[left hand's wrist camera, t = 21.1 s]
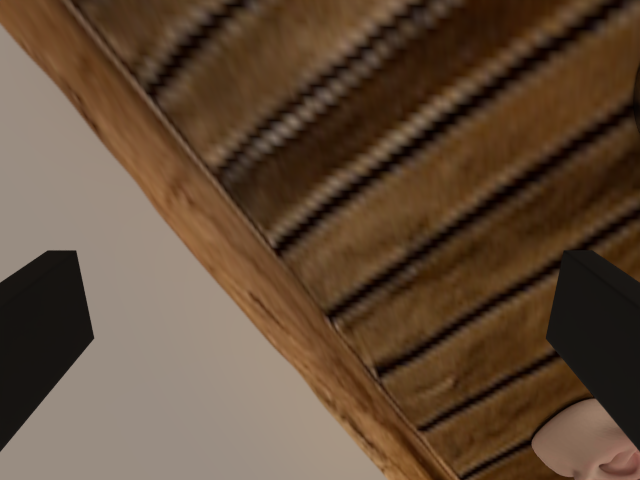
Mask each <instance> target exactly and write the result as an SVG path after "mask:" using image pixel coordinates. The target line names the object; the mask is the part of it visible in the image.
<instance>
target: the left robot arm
mask: <svg viewBox="0 0 640 480" xmlns="http://www.w3.org/2000/svg"><path fill="white" fill-rule="evenodd" d="M634 114H635V120H636V124H637V128H638V131H639V133H640V69H639V72H638V76H637V80H636V85H635V91H634ZM93 339H94V335H93V330H92V325H91V320H90V316H89V311H88V306H87V301H86V296H85V291H84V286H83V281H82V276H81V272H80V267H79V262H78V257H77V252H76V251H46V252H45V253H43V254H42V255H40V256H39V257H37V258H36V259H34V260H33V261H32V262H30V263H29V264H27V265H26V266H24V267H23V268H21V269H20V270H18V271H17V272H15V273H14V274H12V275H11V276H9V277H8V278H6V279H5V280H3V281H2V282H1V283H0V451H1V450H2V449H3V448H4V447H5V445H6V444H7V443H8V442H9V441H10V439H11V438H12V437H13V436H14V435H15V433H16V432H17V431H18V430H19V429H20V427H21V426H22V425H23V424H24V423H25V421H26V420H27V419H28V418H29V416H30V415H31V414H32V413H33V412H34V410H35V409H36V408H37V407H38V406H39V404H40V403H41V402H42V401H43V400H44V398H45V397H46V396H47V395H48V394H49V392H50V391H51V390H52V389H53V388H54V386H55V385H56V384H57V383H58V381H59V380H60V379H61V378H62V377H63V375H64V374H65V373H66V372H67V371H68V369H69V368H70V367H71V366H72V365H73V363H74V362H75V361H76V360H77V358H78V357H79V356H80V355H81V354H82V352H83V351H84V350H85V349H86V348H87V346H88V345H89V344H90V343H91V342H92V340H93ZM546 339H547V340H548V342H549V343H550V344H551V345H552V346H553V348H554V349H555V350H556V351H557V352H558V354H559V355H560V356H561V357H562V359H563V360H564V361H565V362H566V363H567V365H568V366H569V367H570V368H571V369H572V371H573V372H574V373H575V374H576V375H577V377H578V378H579V379H580V380H581V381H582V383H583V384H584V385H585V386H586V388H587V389H588V390H589V391H590V392H591V394H592V395H593V396H594V397H595V398H596V400H597V401H598V402H599V403H600V404H601V406H602V407H603V408H604V409H605V410H606V412H607V413H608V414H609V415H610V416H611V418H612V419H613V420H614V421H615V423H616V424H617V425H618V426H619V427H620V429H621V430H622V431H623V432H624V433H625V435H626V436H627V437H628V438H629V439H630V441H631V442H632V443H633V444H634V445H635V447H636V448H637V449H638V450H639V452H640V283H639V282H638V281H637V280H635V279H634V278H632V277H631V276H629V275H628V274H626V273H625V272H623V271H622V270H620V269H619V268H617V267H616V266H614V265H613V264H611V263H610V262H609V261H607V260H606V259H604V258H603V257H601V256H600V255H598V254H597V253H595V252H594V251H564V252H563V257H562V262H561V267H560V272H559V276H558V281H557V286H556V291H555V296H554V301H553V306H552V311H551V315H550V320H549V325H548V330H547V335H546Z"/></svg>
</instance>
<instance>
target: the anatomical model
mask: <svg viewBox="0 0 640 480" xmlns="http://www.w3.org/2000/svg"><path fill="white" fill-rule="evenodd" d="M532 448H533V450H534V451H535V453H536V454H537V456H538V457H539V458H540V459H541V460H542V461H543V462H544V463H545V464H546V465H547V466H548V467H549V468H551V469H552V470H553V471H555V472H556V473H558V474H560V475H562V476H567V477H574V479H575V480H640V452H639V450H638V449H637V448H636V447H635V445H634V444H633V443H632V442H631V441H630V439H629V438H628V437H627V436H626V435H625V433H624V432H623V431H622V430H621V429H620V427H619V426H618V425H617V424H616V423H615V421H614V420H613V419H612V418H611V416H610V415H609V414H608V413H607V412H606V410H605V409H604V408H603V407H602V406H601V404H600V403H599V402H598V401H597V400H596V399H588V400H584V401H581V402H578V403H576V404H574V405H571V406H570V407H568V408H566V409H565V410H563V411H562V412H560V413H559V414H557V415H556V416H555V417H553V418H552V419H551V420H550V421H549V422H547V423H546V424H545V425H544V426H543V427H542V428H541V429H540V430H539V431H538V432H537V433H536V435H535V436H534V438H533V440H532Z"/></svg>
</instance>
